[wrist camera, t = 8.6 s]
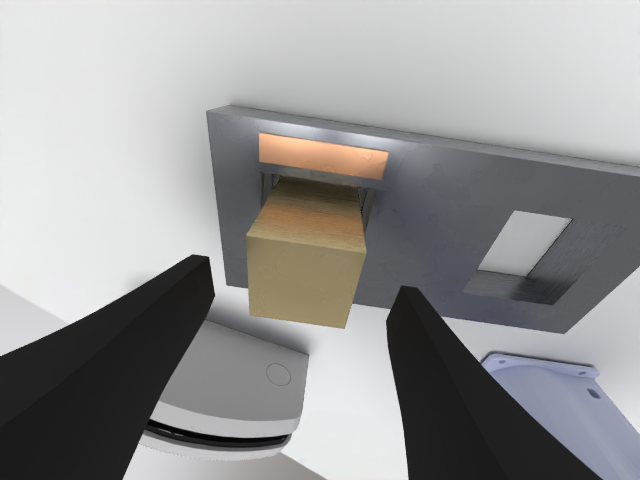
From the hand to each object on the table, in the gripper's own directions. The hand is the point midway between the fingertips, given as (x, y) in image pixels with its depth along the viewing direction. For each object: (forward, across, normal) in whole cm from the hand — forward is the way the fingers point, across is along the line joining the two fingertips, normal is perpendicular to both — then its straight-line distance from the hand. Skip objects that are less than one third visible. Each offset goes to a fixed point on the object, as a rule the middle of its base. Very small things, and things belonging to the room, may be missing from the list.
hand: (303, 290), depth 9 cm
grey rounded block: (+7, +7, +14) cm, 17 cm away
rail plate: (+7, -6, 0) cm, 9 cm away
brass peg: (+7, 0, 0) cm, 7 cm away
